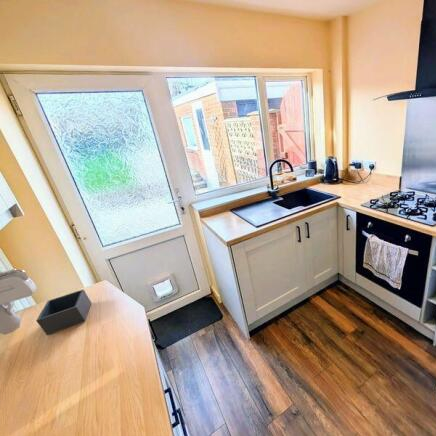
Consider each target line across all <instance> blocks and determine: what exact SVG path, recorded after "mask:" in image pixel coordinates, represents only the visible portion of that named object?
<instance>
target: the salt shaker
mask: <svg viewBox="0 0 436 436" xmlns="http://www.w3.org/2000/svg"><path fill="white" fill-rule="evenodd" d="M7 307H8V306H4V305H3V304H2V305H0V334H1V335H8V334H11V333H13V332H15V331H16V330H18V329H19V328H20V327H21V321H22V318H21V316H20V315H19V314H18V313H16V312H15V313H14V314H12V315H9V314H7V313H6V311H7Z"/></svg>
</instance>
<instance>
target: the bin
mask: <svg viewBox="0 0 436 436" xmlns="http://www.w3.org/2000/svg"><path fill="white" fill-rule="evenodd" d="M91 306H92V301H91V299H90V297H89V296H88V293H87V292H86V291H85V289H80V290H78V291H74V292H70V293H67V294H65V295H61V296H58V297H55V298H52V299H49V300H47V301H46V303H45V304H44V306H43V308H42V310H41V311H40V313H39V315H38V316H37V318H36V322H37V324H38V326H39V327H40V328H41V329H42V331H43V332H44V334H45V335H46V336H49V335H52V334H55V333H57V332H60V331H63V330H65V329H69V328H71V327H75V326H77V325H79V324H82V323H85V322H86V320H87V317H88V314H89V313H90V312H89V311H90V308H91Z"/></svg>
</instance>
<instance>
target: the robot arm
mask: <svg viewBox="0 0 436 436" xmlns="http://www.w3.org/2000/svg"><path fill="white" fill-rule="evenodd" d="M37 288H38V287H37V285H36V283H35V282H34V281H33V280H32V279H31V278H30V277H29V275H28V274H27V272H26V271H25V270H23V269H17V268H13V269H9V270H6V271H1V272H0V305H2V304H3V305H4V306H7V311H6V313H7V314H9V315H12V314H14V313H16V309H15V307H14V304H15V301H17V300H18V301H19V300H22V299H25V298H29V297H32V296H33V295H34V293H35V292H36V291H37Z"/></svg>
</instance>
